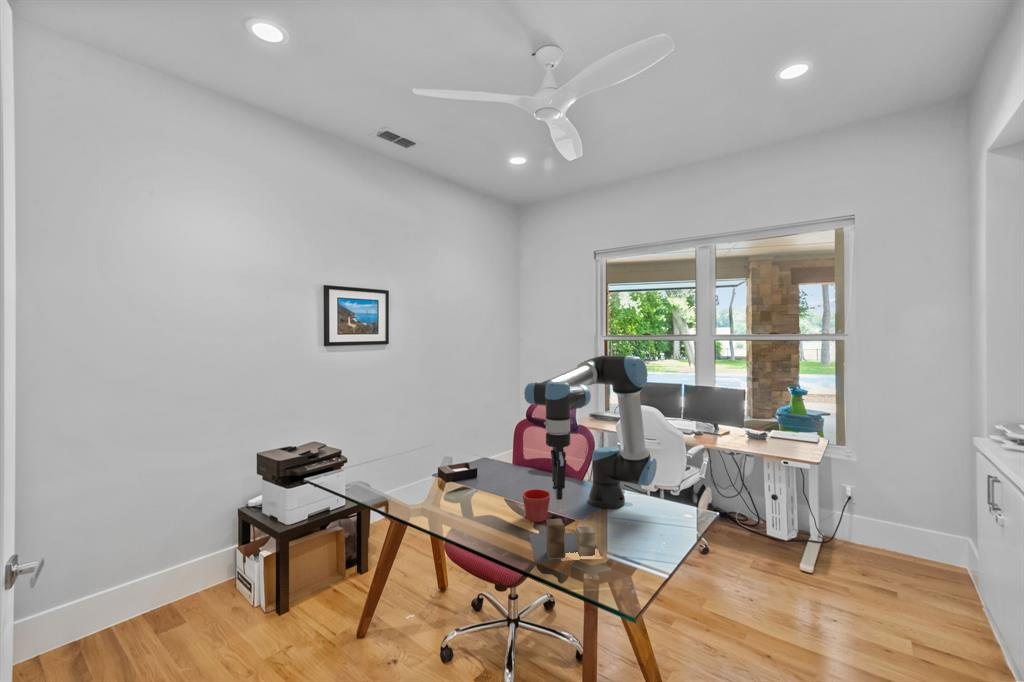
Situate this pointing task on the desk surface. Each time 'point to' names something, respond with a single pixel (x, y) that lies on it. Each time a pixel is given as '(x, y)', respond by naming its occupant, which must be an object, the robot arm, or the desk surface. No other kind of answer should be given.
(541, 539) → the mat
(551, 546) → the grey brown block
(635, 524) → the desk surface
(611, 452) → the robot arm
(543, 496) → the flower pot
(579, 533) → the grey beige upright block
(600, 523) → the desk surface
